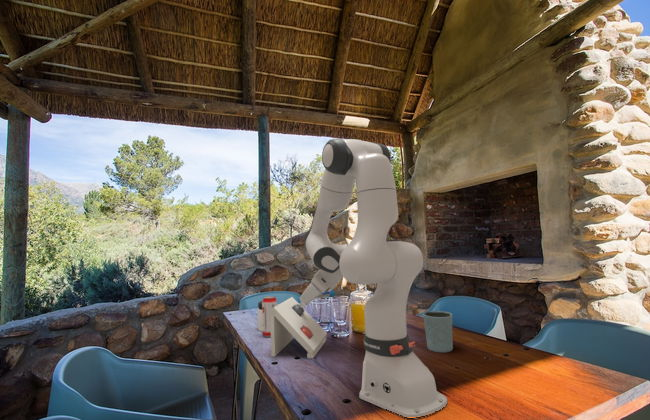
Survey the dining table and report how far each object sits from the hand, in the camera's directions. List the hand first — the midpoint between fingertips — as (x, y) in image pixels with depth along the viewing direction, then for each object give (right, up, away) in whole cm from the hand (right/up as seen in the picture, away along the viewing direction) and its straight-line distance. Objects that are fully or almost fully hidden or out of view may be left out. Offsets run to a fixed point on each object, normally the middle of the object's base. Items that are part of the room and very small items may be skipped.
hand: (301, 305), depth 131 cm
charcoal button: (-1, -4, 0) cm, 5 cm away
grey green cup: (+50, -12, -11) cm, 52 cm away
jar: (-17, -17, +22) cm, 32 cm away
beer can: (-14, -16, +12) cm, 24 cm away
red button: (+2, -10, -10) cm, 14 cm away
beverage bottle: (+10, -17, +31) cm, 37 cm away
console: (0, -14, -5) cm, 15 cm away
